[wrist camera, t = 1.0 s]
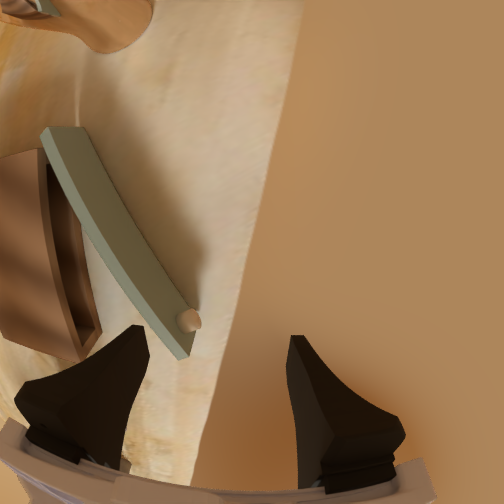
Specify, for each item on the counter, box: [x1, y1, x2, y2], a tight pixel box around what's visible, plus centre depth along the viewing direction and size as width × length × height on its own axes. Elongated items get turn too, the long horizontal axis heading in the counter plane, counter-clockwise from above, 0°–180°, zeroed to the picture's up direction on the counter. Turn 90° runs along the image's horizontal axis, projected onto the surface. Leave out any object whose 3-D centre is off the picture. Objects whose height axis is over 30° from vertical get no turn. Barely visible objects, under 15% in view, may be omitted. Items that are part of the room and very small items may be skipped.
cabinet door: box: [39, 126, 201, 360], centre depth 17 cm, size 19×2×5 cm, turn 27°
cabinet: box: [0, 148, 102, 363], centre depth 18 cm, size 18×12×5 cm, turn 177°
